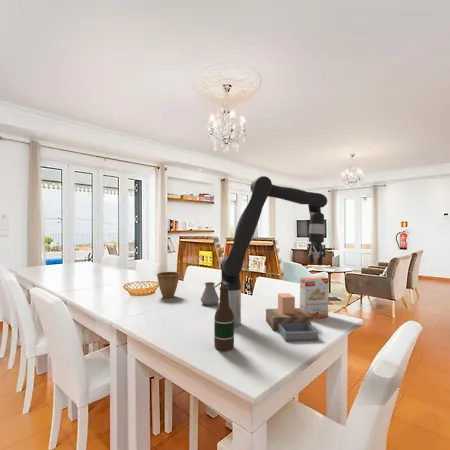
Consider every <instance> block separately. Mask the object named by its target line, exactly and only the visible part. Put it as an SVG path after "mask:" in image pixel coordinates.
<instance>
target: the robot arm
mask: <svg viewBox="0 0 450 450" xmlns="http://www.w3.org/2000/svg"><path fill="white" fill-rule="evenodd" d="M250 192H251V196H250V199H249V202H248V203H247V205H246V207H244V210H243V211H242V213H241V214H240V217H239V219H238V222H237V225H236V228H235V232H234V237H233V243H232V246H231V249H230V251H229V254H228V256H226V257H224V258H223V260H222V261H221V266H220V267H221V282H222V284H221V286H227V287H229V290H228V295H229V306H230V308H231V310H232V312H233V314H234V328H235V327H238V326H240V325H241V323H242V283H241V277H240V276H241V275H240V273H241V271H242V269H243V265H244V262H245V258H246V254H247V251H248V249H249V245H250V244H251V242H252V239H253V236H254V235H255V232H256V229H257V226H258V223H259V221H260V218H261V214H262V211H263V208H264V205H265V203H266V202H267V200H268V198H269V197H270V198H275V199H280V200H284V201H288V202H292V203H295V204H299V205H308V212H309V228H308V242H309V243H307V246H306V255H308V257H309V258H308V263H309V264H311V265H312V264H314V261H315V260H314V259H315V257H314V256H315V255H316V256H317V262H316V263H317V264H316V265H317V266H322V265H323V258H325V257H326V244H322V243H324V242H325V214H324V213H322V211H321V209H322V208H324V207H325V206H327V205H328V198H327V197H326V195H325V194H323V193H320V192H319V193H318V192H311V191H306V190H303V189H299V188H294V187H286V186H280V185H276V184H273V183H272V180H271V179H270V178H269V177H268V176H265V175H263V176H262V175H261V176H258V177H256V178H255V179H253V181H252V182H251V183H250Z"/></svg>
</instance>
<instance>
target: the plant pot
mask: <svg viewBox="0 0 450 450" xmlns="http://www.w3.org/2000/svg"><path fill="white" fill-rule="evenodd" d="M156 276H157V282H158V286H159V290H160V294H161V295H162V298H163V299H171V298H174V296H175V294H176V291H177V287H178V283H179V277H180V273H179V272H177V271H163V272H161V271H160V272H158V273H156Z"/></svg>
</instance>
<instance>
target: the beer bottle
mask: <svg viewBox="0 0 450 450" xmlns="http://www.w3.org/2000/svg"><path fill="white" fill-rule="evenodd" d="M228 290H229V287H227V286H222V285H221V286H220V287H219V301H218V303H219V304H218V307H217V309H216V310H215V314H214V320H213V321H214V322H213V324H214V327H213V328H214V329H213V330H214V331H213V332H214V336H213V337H214V339H213V341H214V342H213V343H214V344H213V345H214V348H215V349H216V350H217V351H220V350H221V351H220V352H227V351H231V350H232V349H233V348H234V345H235V327H234V314H233V312H232V310H231V308H230V306H229V295H228Z"/></svg>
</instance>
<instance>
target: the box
mask: <svg viewBox="0 0 450 450" xmlns="http://www.w3.org/2000/svg"><path fill="white" fill-rule="evenodd" d="M277 333H278V334H279V335H280V336H281V338H282V339H283V340H284V341H285V342H305V341H306V342H307V341H308V342H309V341H318V340H319V332H318V331H317V330H316V329H315V328H314V327H313V326H312V324H311V325H309V324H308V323H278V331H277Z"/></svg>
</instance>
